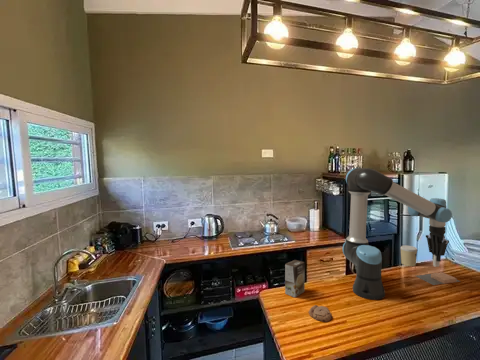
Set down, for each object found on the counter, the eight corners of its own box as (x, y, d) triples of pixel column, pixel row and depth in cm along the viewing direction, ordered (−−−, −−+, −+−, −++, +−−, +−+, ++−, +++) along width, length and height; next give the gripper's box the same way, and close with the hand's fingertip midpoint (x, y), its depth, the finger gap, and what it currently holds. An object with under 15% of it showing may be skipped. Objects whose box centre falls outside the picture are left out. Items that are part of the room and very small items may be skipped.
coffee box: (295, 298, 136) (294, 267, 135) (284, 293, 140) (284, 263, 139) (305, 291, 142) (304, 262, 141) (294, 287, 147) (294, 259, 146)
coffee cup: (419, 268, 168) (420, 250, 167) (403, 268, 170) (403, 249, 169) (413, 263, 177) (413, 245, 176) (397, 262, 179) (398, 245, 178)
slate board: (433, 287, 144) (433, 284, 144) (414, 277, 156) (414, 275, 156) (460, 283, 147) (460, 281, 147) (440, 274, 159) (440, 272, 159)
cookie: (319, 325, 114) (319, 318, 113) (304, 312, 123) (304, 306, 123) (337, 319, 118) (337, 312, 117) (321, 307, 127) (321, 301, 127)
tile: (431, 277, 153) (444, 283, 145) (431, 273, 153) (444, 279, 145) (442, 275, 155) (456, 282, 147) (442, 272, 154) (456, 278, 147)
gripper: (453, 227, 147) (452, 269, 148) (432, 222, 159) (431, 261, 161) (442, 228, 145) (441, 271, 147) (421, 223, 158) (421, 262, 160)
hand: (436, 266), depth 154 cm, fingers closed
